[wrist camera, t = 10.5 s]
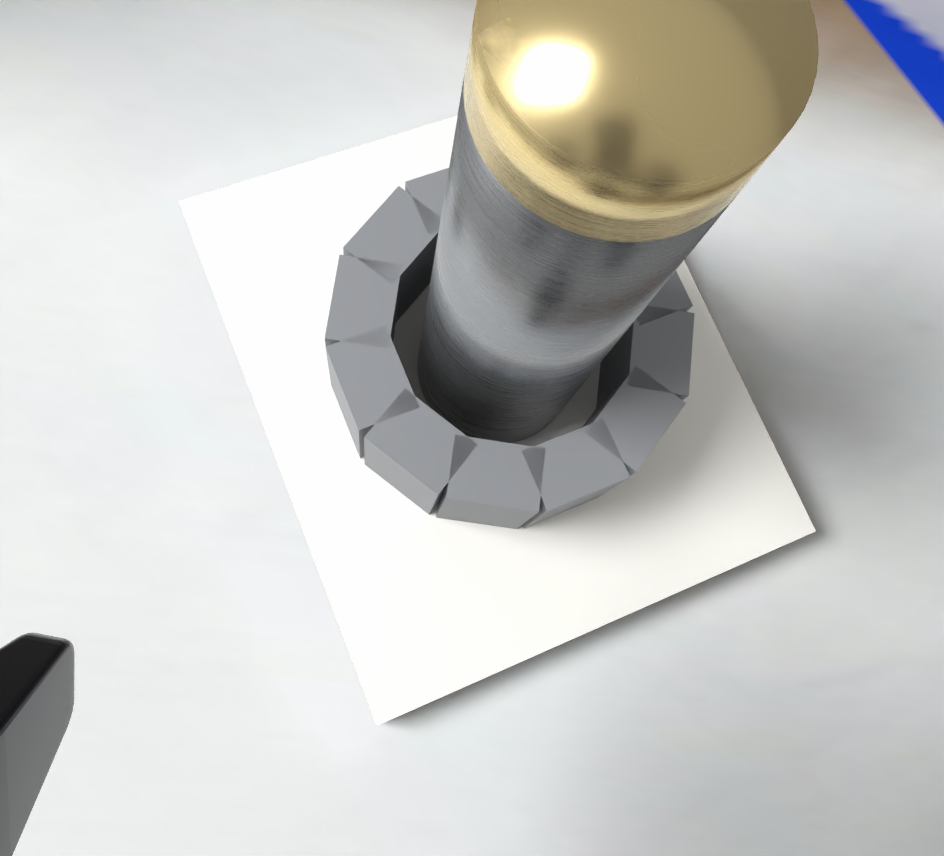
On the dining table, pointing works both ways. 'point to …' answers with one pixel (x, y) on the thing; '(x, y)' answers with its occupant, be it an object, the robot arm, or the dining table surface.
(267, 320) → the socket plate
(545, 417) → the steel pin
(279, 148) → the dining table surface
